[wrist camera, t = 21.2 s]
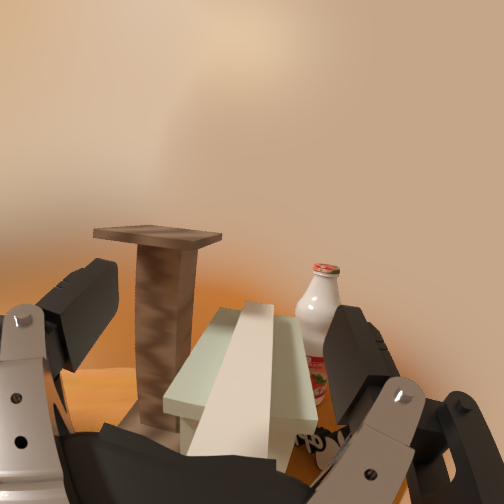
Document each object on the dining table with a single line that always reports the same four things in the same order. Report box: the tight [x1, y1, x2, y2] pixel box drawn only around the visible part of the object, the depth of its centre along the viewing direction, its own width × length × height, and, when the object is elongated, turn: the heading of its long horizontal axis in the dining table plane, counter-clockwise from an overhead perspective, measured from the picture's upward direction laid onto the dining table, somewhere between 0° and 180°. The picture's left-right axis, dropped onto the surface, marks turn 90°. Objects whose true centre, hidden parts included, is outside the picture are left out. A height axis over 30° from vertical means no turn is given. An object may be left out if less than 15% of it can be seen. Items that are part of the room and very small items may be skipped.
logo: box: [295, 425, 351, 471], centre depth 39 cm, size 21×2×10 cm, turn 30°
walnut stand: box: [93, 225, 222, 454], centre depth 39 cm, size 12×16×32 cm
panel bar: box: [186, 301, 274, 459], centre depth 23 cm, size 4×28×2 cm, turn 176°
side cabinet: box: [163, 307, 318, 473], centre depth 31 cm, size 11×23×22 cm, turn 176°
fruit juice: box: [295, 264, 341, 406], centre depth 55 cm, size 9×9×28 cm
